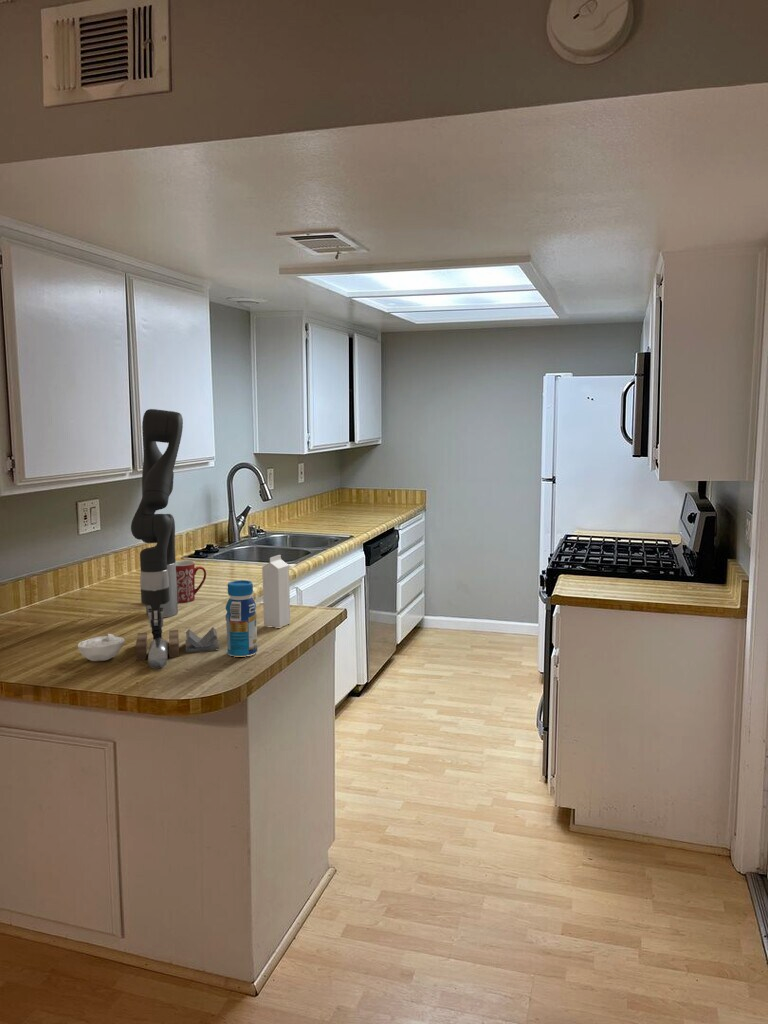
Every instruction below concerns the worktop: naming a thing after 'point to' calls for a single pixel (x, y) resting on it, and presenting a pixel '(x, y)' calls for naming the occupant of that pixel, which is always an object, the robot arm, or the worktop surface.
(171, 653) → the slotted block
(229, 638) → the beverage bottle
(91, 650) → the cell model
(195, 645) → the v block
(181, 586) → the mug
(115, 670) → the worktop surface
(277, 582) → the milk
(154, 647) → the grey metal cylinder
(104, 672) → the worktop surface
